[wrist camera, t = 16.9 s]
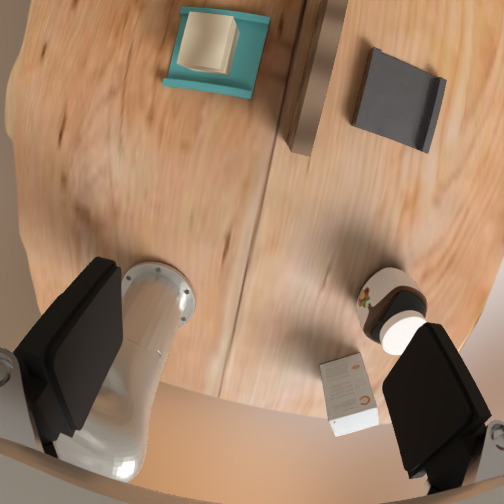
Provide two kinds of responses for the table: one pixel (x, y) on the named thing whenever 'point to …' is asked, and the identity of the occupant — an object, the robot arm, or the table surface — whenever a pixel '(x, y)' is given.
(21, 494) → the robot arm
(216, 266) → the table surface
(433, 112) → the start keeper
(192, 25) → the block
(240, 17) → the teal square tray
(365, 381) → the small box
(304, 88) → the door panel
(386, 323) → the spread jar
